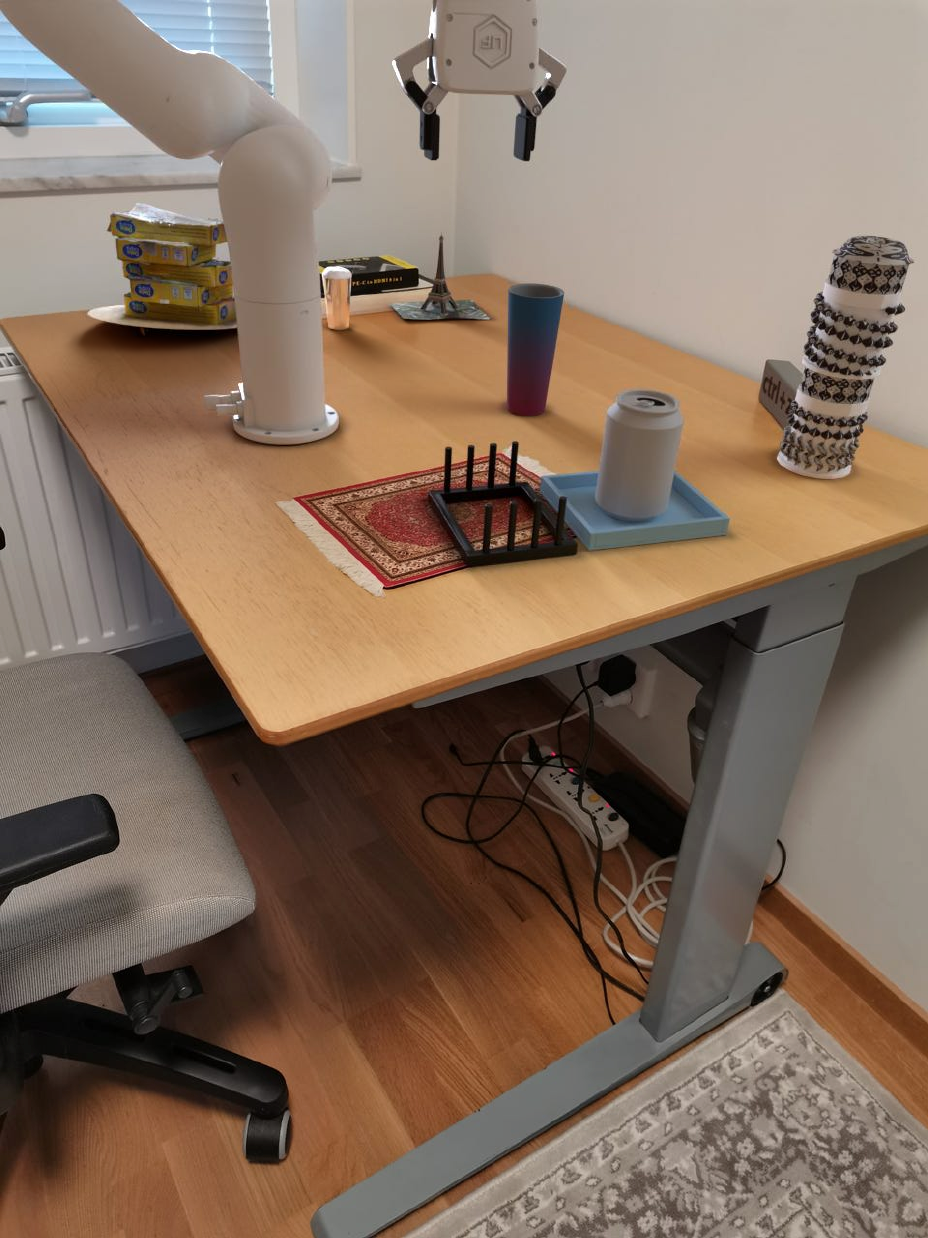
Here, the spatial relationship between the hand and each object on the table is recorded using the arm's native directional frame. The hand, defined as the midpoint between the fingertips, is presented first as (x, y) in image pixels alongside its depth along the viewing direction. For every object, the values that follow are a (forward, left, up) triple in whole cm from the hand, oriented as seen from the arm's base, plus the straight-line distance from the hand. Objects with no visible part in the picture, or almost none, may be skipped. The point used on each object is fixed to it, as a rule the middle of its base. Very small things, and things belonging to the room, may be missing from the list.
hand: (476, 158), depth 92 cm
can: (+11, -22, -30) cm, 39 cm away
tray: (+12, -22, -30) cm, 39 cm away
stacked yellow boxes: (-31, +50, -31) cm, 66 cm away
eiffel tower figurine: (+12, +53, -31) cm, 62 cm away
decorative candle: (+39, -15, -31) cm, 52 cm away
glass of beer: (-6, +47, -31) cm, 56 cm away
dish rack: (-3, -22, -30) cm, 38 cm away
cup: (+11, +8, -31) cm, 33 cm away
